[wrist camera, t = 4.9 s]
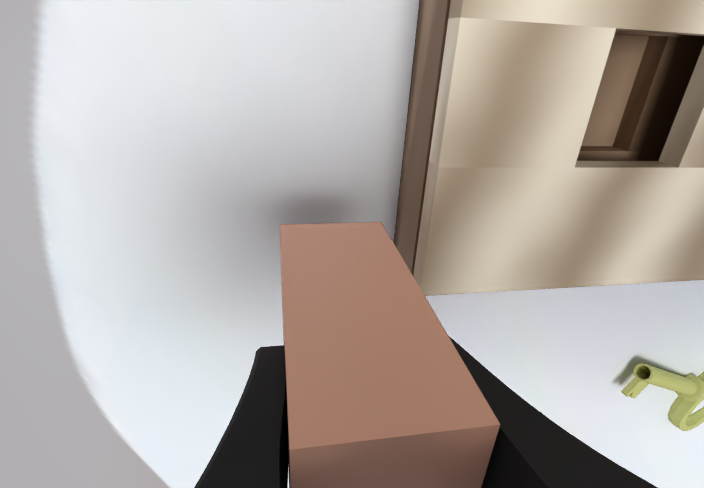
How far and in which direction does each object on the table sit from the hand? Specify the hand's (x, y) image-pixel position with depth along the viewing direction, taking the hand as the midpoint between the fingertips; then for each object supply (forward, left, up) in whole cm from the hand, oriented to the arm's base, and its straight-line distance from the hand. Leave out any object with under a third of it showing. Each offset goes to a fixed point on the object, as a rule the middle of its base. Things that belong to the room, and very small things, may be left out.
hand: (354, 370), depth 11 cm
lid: (-12, -6, -7) cm, 15 cm away
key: (-28, +14, -11) cm, 33 cm away
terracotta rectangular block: (0, 0, -5) cm, 5 cm away
